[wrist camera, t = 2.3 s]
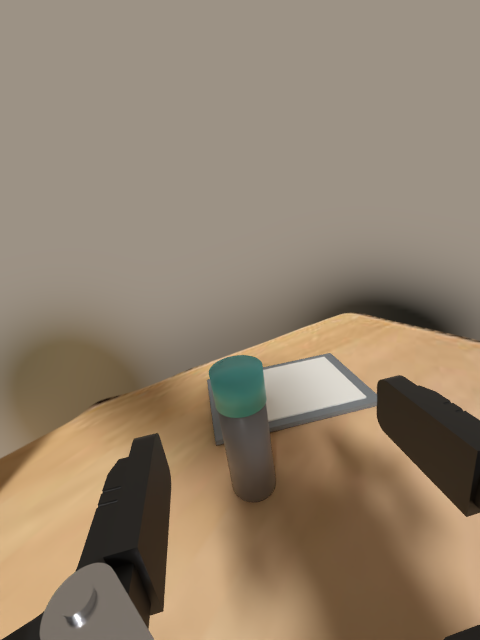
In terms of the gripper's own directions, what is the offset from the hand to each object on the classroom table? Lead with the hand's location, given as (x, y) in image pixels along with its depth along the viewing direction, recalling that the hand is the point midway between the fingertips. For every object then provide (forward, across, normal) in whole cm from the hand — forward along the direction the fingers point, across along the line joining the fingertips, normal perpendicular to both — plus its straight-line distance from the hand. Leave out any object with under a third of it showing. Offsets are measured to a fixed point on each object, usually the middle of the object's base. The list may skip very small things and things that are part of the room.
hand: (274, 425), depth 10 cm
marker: (+12, 0, +16) cm, 19 cm away
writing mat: (+24, -7, +16) cm, 29 cm away
